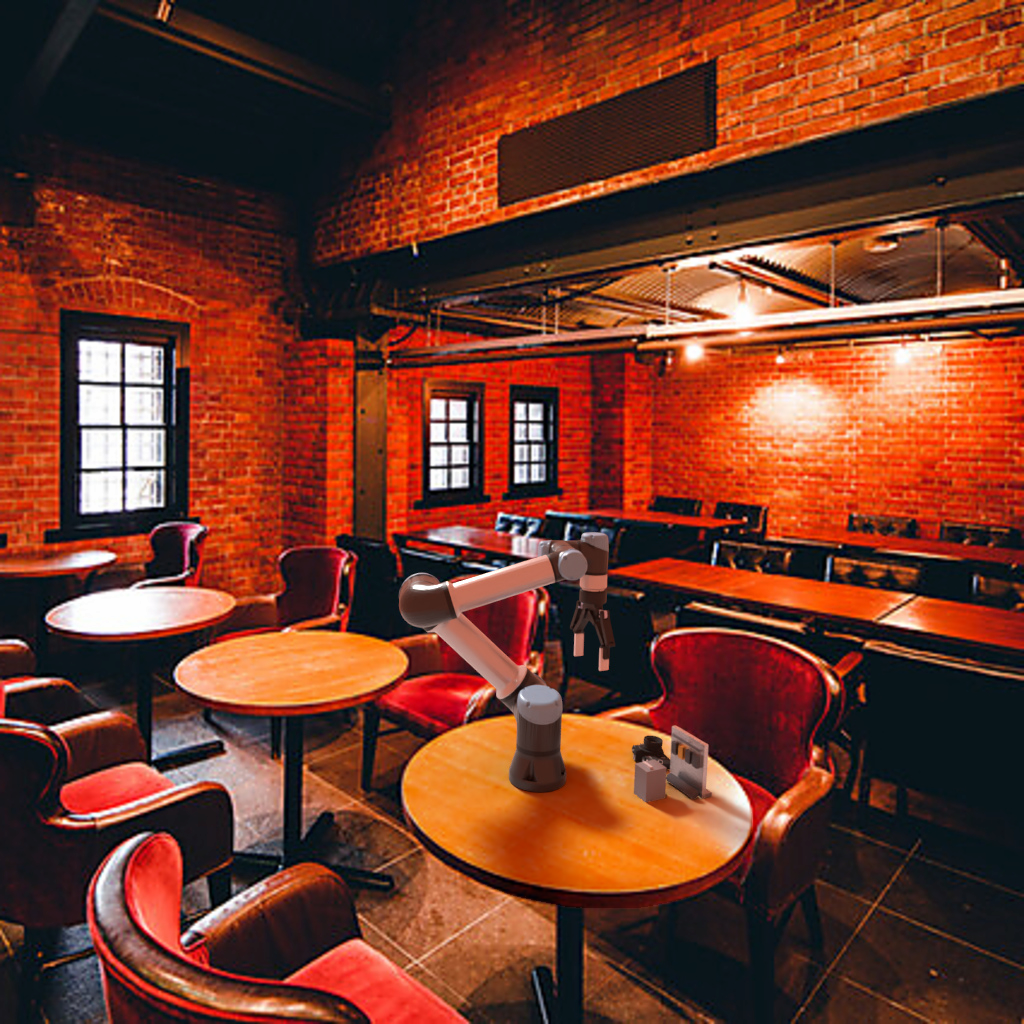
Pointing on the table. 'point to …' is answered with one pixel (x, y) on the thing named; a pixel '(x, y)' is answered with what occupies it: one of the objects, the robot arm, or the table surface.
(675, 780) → the gray cylinder
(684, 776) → the breaker panel
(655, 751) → the film camera
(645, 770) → the grey tall block
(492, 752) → the table surface
